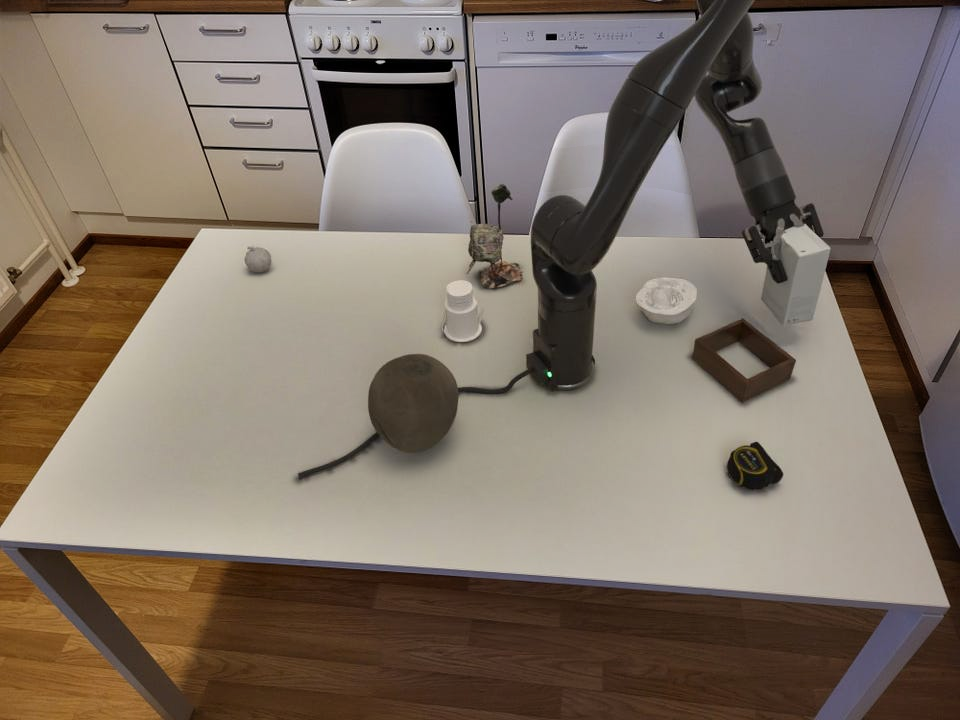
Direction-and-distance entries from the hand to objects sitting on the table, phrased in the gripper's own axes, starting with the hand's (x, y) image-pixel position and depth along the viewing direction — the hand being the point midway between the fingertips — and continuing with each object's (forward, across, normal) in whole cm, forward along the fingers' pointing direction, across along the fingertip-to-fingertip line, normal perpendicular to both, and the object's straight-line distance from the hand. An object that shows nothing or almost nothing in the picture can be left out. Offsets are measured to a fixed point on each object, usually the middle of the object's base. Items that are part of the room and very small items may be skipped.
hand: (799, 274), depth 128 cm
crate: (+12, -12, +8) cm, 18 cm away
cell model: (-1, -14, +21) cm, 25 cm away
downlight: (-12, -48, +32) cm, 59 cm away
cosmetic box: (+5, 0, +7) cm, 8 cm away
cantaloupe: (+1, -66, +18) cm, 69 cm away
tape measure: (+24, -26, -5) cm, 36 cm away
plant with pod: (-20, -35, +40) cm, 57 cm away
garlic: (-40, -75, +60) cm, 105 cm away
